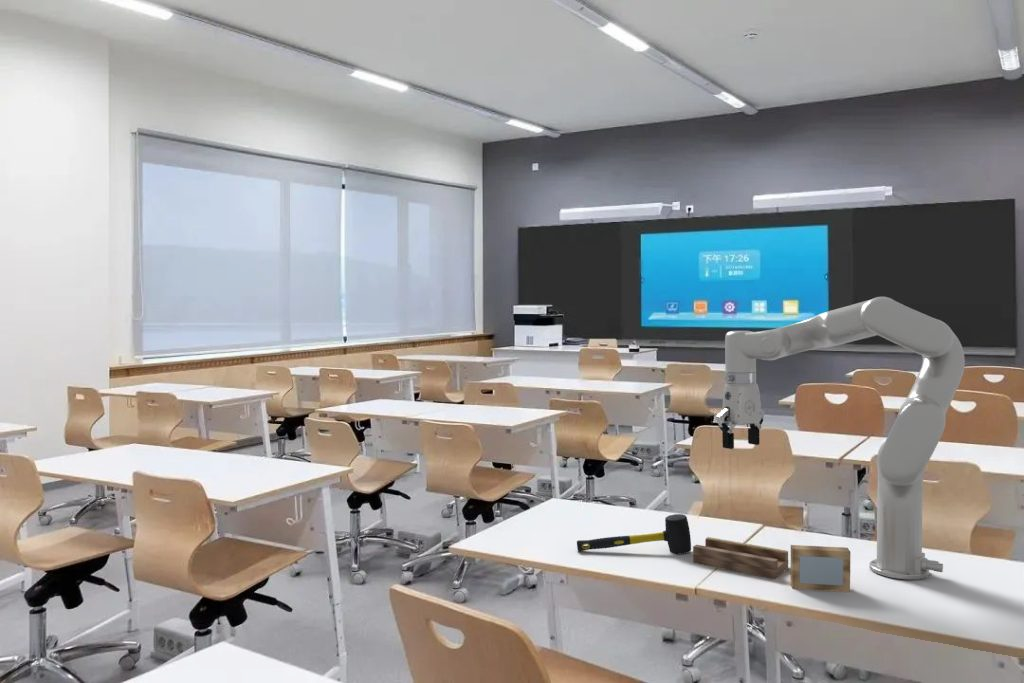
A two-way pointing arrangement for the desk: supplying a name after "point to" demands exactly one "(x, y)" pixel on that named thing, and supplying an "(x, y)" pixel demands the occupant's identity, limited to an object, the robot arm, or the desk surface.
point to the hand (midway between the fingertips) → (741, 446)
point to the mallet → (649, 537)
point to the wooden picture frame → (820, 568)
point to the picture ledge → (741, 557)
